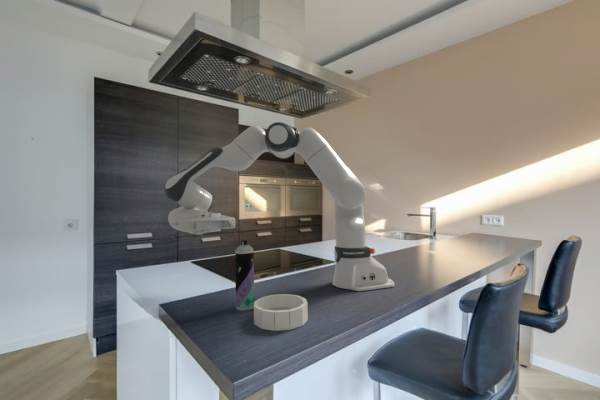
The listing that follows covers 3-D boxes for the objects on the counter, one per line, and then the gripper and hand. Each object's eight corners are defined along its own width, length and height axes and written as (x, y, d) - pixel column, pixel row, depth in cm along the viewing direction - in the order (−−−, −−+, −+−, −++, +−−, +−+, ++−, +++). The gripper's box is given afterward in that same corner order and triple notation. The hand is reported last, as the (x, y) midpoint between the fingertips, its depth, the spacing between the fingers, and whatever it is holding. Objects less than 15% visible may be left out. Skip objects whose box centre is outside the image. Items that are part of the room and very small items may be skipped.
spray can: (236, 311, 85) (235, 241, 85) (235, 305, 90) (234, 239, 91) (255, 309, 87) (254, 240, 87) (253, 303, 92) (252, 238, 92)
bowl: (303, 308, 87) (303, 292, 87) (310, 328, 73) (310, 309, 73) (255, 311, 85) (254, 295, 85) (253, 332, 71) (252, 313, 71)
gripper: (169, 213, 98) (191, 216, 89) (222, 212, 113) (245, 215, 105) (168, 232, 98) (191, 237, 89) (221, 229, 114) (244, 233, 105)
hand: (220, 225), depth 97 cm, fingers open, 8 cm apart
